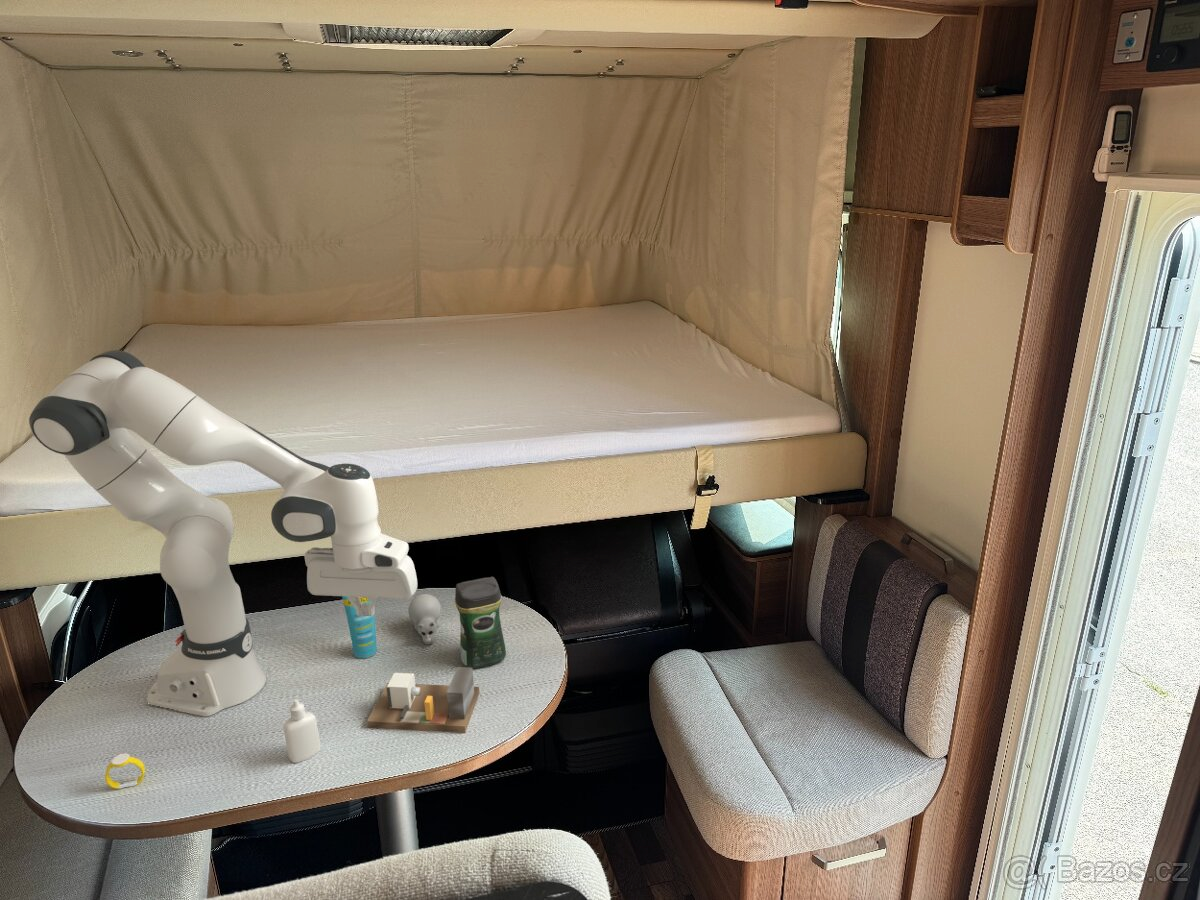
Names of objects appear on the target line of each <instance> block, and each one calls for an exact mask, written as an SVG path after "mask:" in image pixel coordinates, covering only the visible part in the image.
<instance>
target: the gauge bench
mask: <svg viewBox="0 0 1200 900" xmlns="http://www.w3.org/2000/svg"><path fill="white" fill-rule="evenodd" d="M473 671H474V670H473V668H470V667H467V666H465V667H461V666H457V667H456V670H455V672H454V674H453V676H452V679H451V682H450V684H449V685H447V684H446V685H445V684H428V683H427V684H421V683H415V686H416V687H420V688H421V693H420V696H416V697H415V699H414V701H413V703H412V705H411V708H410V709H408V710H407V713H406V715H405V717H404V719H400V715H401V713H402V711H403V709H399V708H389V704H388V696H387V686H388V684H389V682H386V685H385V686H384V689H383V690H382V692H381V694H380V696H379V698H378V700H377V702H376V704H375V705H374V707H373V709H372V711H371V713H370V715H369V716H368V718H367V721H366V723H367V728H368V729H387V730H404V731H405V730H407V731H422V732H423V731H424V732H440V733H441V732H444V733H460V734H463V733H466V731H467V729H468V726H469V723H470V721H471V718H472V715H473V712H474V709H475V707H476V705H477V702H478V699H479V696H480V686H475V685H474V683H475V681H474V672H473ZM427 696H433V705H434V715H433V717H432V720H426V713H425V704H424V702H425V700H426V698H427Z"/></svg>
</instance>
